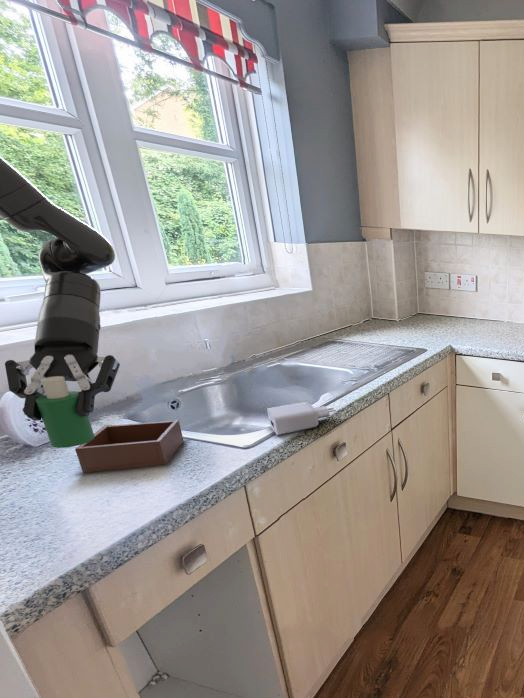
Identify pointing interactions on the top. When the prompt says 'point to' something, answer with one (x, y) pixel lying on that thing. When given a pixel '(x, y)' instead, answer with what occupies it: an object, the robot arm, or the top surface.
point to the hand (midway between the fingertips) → (59, 416)
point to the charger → (295, 417)
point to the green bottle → (63, 414)
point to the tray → (130, 446)
